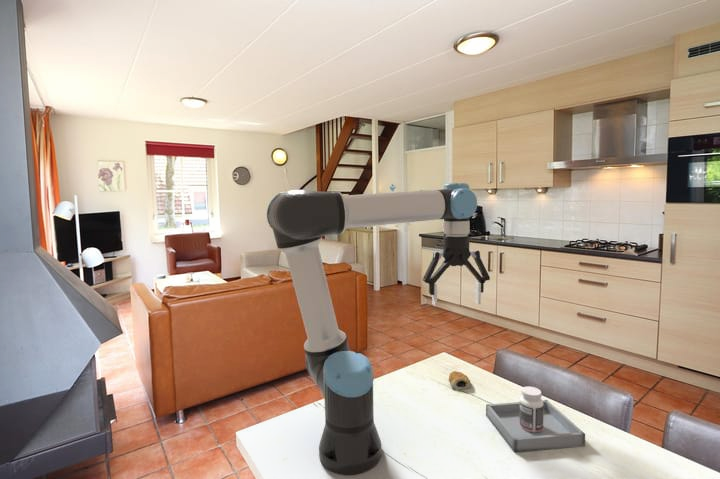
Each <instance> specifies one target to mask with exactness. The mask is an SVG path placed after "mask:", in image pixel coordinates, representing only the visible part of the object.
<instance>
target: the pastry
mask: <svg viewBox="0 0 720 479" xmlns="http://www.w3.org/2000/svg"><path fill="white" fill-rule="evenodd" d="M448 382H449V383H450V388H452V389H453V390H467V389H469V388H470V387H471V385H472V382H471V380H470V379H469V376H467V375H466V374H464V373H463V372H461V371H452V372H451V373H449V377H448Z"/></svg>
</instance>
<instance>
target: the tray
mask: <svg viewBox="0 0 720 479" xmlns="http://www.w3.org/2000/svg"><path fill="white" fill-rule="evenodd" d="M542 401H543V403H544V409H543V430H542V431H540V432H529V431H527V430H525V429H523V428H522V427H521V426H520V421H519V420H520V401H515V402H514V401H513V402H503V403H501V402H500V403H490V404H486V405H485V416H486V418H487V419H488V420H489V421H490V423H491V424H492V426H493V427H494V428H495V429H496V431H497V432H498V433H499V435H500V436H501V437H502V438H503V440H504V441H505V443H506V444H507V445H508V447H510V449H511V450H512V451H513V453H514V454H516V453H525V452H537V451H547V450H548V451H549V450H559V449H569V448H577V447H578V448H580V447H586V433H585V432H584V431H583V430H581V429H580V428H579V427H578V425H576V424H575V423H574V422H572V420H570V418H568V417H567V416H566V415H565V414H563V413H562V412H561V410H559V409H558V408H557V407H556V406H554V405H553V404H552V403H551V402H550V401H549V400H548V399H542Z"/></svg>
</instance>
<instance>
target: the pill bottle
mask: <svg viewBox="0 0 720 479" xmlns="http://www.w3.org/2000/svg"><path fill="white" fill-rule="evenodd" d="M542 400H543V399H542V390H540V389H539V388H537V387H535V386H523V387H522V388H521V396H520V398H519V402H520V420H519V421H520V426H521V427H522V428H523V429H525V430H527V431H529V432H540V431H542V430H543V409H544V403H543V401H542Z"/></svg>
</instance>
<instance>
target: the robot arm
mask: <svg viewBox="0 0 720 479" xmlns="http://www.w3.org/2000/svg"><path fill="white" fill-rule="evenodd" d="M477 208H478V198H477V195H476V194H475V192H473V190H471V189H470V184H468V183H465V182H460V183H459V182H458V183H455V182H453V183H452V182H451V183H445V184H444V185H443V189H432V190H431V189H430V190H427V189H426V190H425V189H423V190H422V189H419V190H412V191H411V190H410V191H397V192H396V191H395V192H382V193H381V192H380V193H364V194H363V193H362V194H352V195H351V194H350V195H348V194H347V195H343V193H341V192H340V191H320V190H319V191H316V190H308V189H292V190H285V191H281V192H279V193H278V194H277V195H275V196H274V197H273V198H272V199H271V201H270V202H269V203H268V207H267V209H266V220H267V222H268V225H269V227H270V228H271V229H272V233H273V236H274V240H275V244H276V248H277V249H278V250H279V251H281V252H282V253H284V254H285V258H286V261H287V265H288V269H289V273H290V276H291V281H292V284H293V288H294V291H295V295H296V299H297V303H298V306H299V310H300V314H301V317H302V322H303V326H304V329H305V333H306V336H307V339H306V340H305V341H304V344H303V350H304V352H305V366H306V370H307V372H308V374H309V375H310V376H309V377H311V378H312V379H313V381H314V382H315V385H317V387H318V389H319V391H320V392H321V394H322V396H323V398H324V399H323V400H324V418H325V424H324V428H323V431H322V435H321V437H320V440H319V443H318V457H319V460H320V463H321V464H322V465H323V466H324V467H325V468H326V469H327V470H328V471H331V472H333V473H335V474H340V475H356V474H357V475H358V474H362V473H365V472H367V471H369V470H371V469H373V468H374V467H375V466H377V465H378V463H379V462H380V460H381V457H382V454H383V452H382V450H383V449H382V441H381V438H380V435H379V432H378V430H377V427H376V424H375V420H374V417H375V416H374V371H373V366H372V362H371V361H370V360H369V358H368V357H367V356H365V355H364V354H362V353H359V352H358V353H357V352H356V351H353V350H350V346H349V342H348V338H347V335H346V333H345V332H344V331H342V330H341V329H339V326H338V321H337V317H336V313H335V309H334V305H333V301H332V296H331V293H330V289H329V285H328V281H327V276H326V272H325V268H324V264H323V260H322V256H321V252H320V247H319V246H320V245H319V244H320V243H321V241H322V239H323V237H324V236H325V237H326V236H330V235H338V234H343V233H344V232H346V230H347V229H353V228H364V227H365V228H366V227H375V226H385V225H395V224H396V225H397V224H405V223H406V224H407V223H415V222H426V221H436V220H437V221H438V220H443V234H444V236H443V251H441V252H440V251H436V250H435V251H433V253H432V259H431V262H430V264H429V266H428V268H427V269H426V272H425V273H424V276H423V278H422V281H423V282H424V283H426V284H428V293H429V295H430V296H431V304H432V305H433V306H434V307H438V284H436V282H437V281H438V280H439V279H440V278H441V276H442V275H443V274H444V273H445V271H447V269H449V268H450V267H457V266H459V267H463V266H465V267H466V268H467V269H468V271H469V272H470V273H471V274H472V275H473V277H474V278H475V279H476V280H477V281H474V302H475V303H476V304H477V305H481V304H482V303H481V302H482V298H481V296H482V293H484V285H485V283H486V281H490V280H491V277H490V275H489V273H488V271H487V268H486V267H485V266H486V265H485V264H484V263H483V260H482V259H481V251H479V250H477V249H473V250H470V236H469V235H470V231H471V229H470V227H471V226H470V218H471V217H472V216H473V215H474V214H475V213H476V210H477ZM442 257H443V259H444V260H443V261H442V262H441V265H440V266H439V267H438V268H437V270H436V267H437V265H438V264H439V261H440V260H441V259H442ZM470 257H472V258H473V260H474V262H475V264H476V266H477V268H478V270H479V272H480V273H479V272H478V271H477V269H476V268H475V267H474V266H473V264H472V263H471V262H470V260H469V259H470ZM435 270H436V271H435Z"/></svg>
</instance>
